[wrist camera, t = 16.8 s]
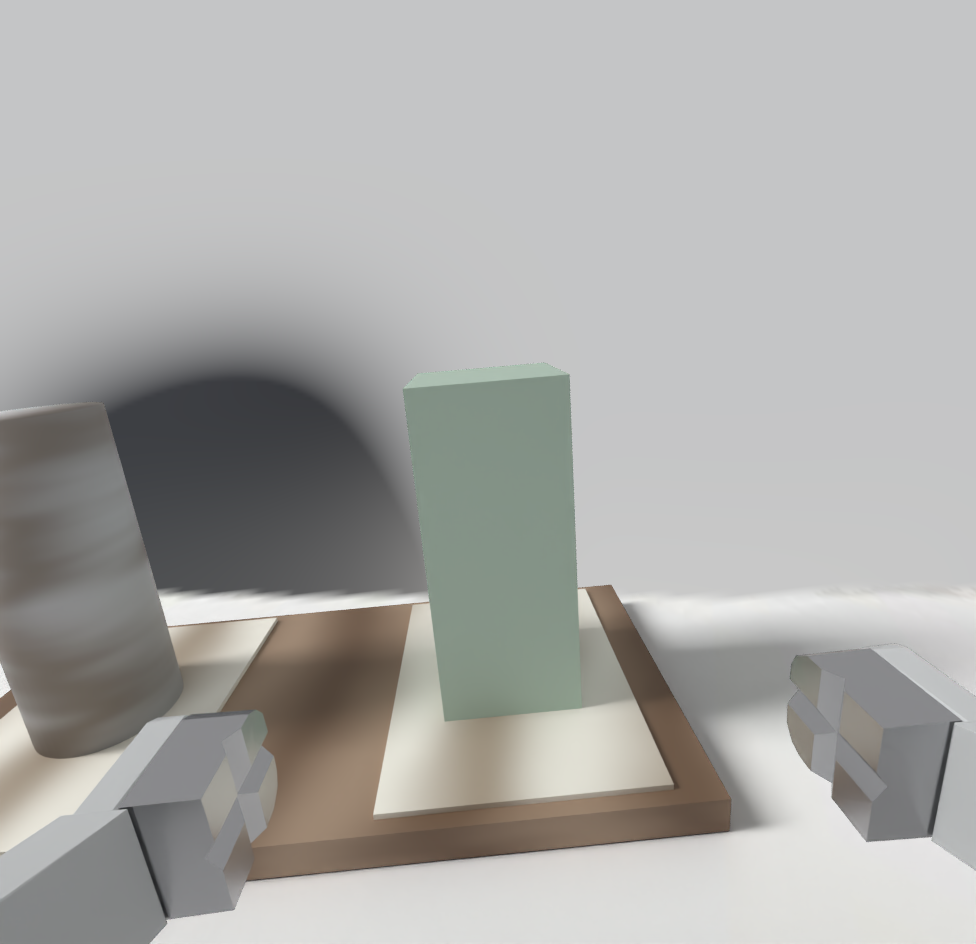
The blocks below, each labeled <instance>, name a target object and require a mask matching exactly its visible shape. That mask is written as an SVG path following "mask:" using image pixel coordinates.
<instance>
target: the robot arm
mask: <svg viewBox="0 0 976 944" xmlns="http://www.w3.org/2000/svg"><path fill="white" fill-rule="evenodd" d="M790 679H791V681H792V682H793V683H794V684H795V686H796V687H797V688H798V691H797V692H796V694H795V695H794V696H793V697H792V699H791V700H790V701H789V702H788V708H787V724H788V728H789V732H790V736H791V739H792V742H793V744H794V746H795V748H796V750H797V752H798V754H799V756H800V757H801V759H802V760H803V761H804V763H805V764H806V765H807V767H808V768H809V769H810V771H812V772H814V773H815V774H817V775H819V776H821V777H822V778H824V779H826V780H828V781H829V782H831V783H832V799H833V800H834V801H835V803H836V804H837V805H838V806H839V808H840V809H841V810H842V812H843V813H844V814H845V815H846V817H847V818H848V819H849V820H850V822H851V823H852V824H853V826H854V827H855V828H856V829H857V831H858V832H859V833H860V834H861V836H862V837H863V838H864V839H865V841H866V842H873V841H886V840H899V839H912V838H926V837H932V840H931V841H933V842H934V843H936V844H937V845H939V846H940V847H942V848H943V849H944V850H946V851H947V852H949V853H950V854H952V855H953V856H955V857H956V858H958V859H959V860H961V861H962V862H964V863H965V864H967V865H968V866H970V867H971V868H973V869H974V870H976V696H974V695H973V694H972V693H970V692H969V691H967V690H966V689H965V688H963V687H962V686H960V685H959V684H958V683H956V682H955V681H953V680H952V679H951V678H949V677H948V676H947V675H945V674H944V673H942V672H941V671H940V670H938V669H937V668H935V667H934V666H933V665H931V664H930V663H929V662H927V661H926V660H924V659H923V658H922V657H920V656H919V655H917V654H916V653H915V652H913V651H912V650H910V649H909V648H908V647H905V646H902V645H899V644H895V643H894V644H886V645H878V646H870V647H862V648H861V649H854V650H844V651H835V652H825V653H816V654H806V655H797V656H796V657H795V659H794V661H793V662H792V664H791V673H790ZM267 732H268V730H267V726H266V723H265V720H264V716H263V713H261V712H259V711H258V710H256V709H255V710H242V711H229V712H216V713H203V714H191V715H182V716H171V717H159V718H156V719H154V720H152V721H150V722H148V723H146V725H145V726H144V727H143V728H142V730H141V731H140V732H139V733H138V734H137V736H136V737H135V738H134V739H133V741H132V742H131V743H130V744H129V746H128V747H127V748H126V749H125V751H124V752H123V753H122V754H121V756H120V757H119V758H118V759H117V761H116V762H115V763H114V764H113V765H112V767H111V768H110V769H109V770H108V772H107V773H106V774H105V775H104V777H103V778H102V779H101V780H100V782H99V783H98V784H97V785H96V787H95V788H94V789H93V790H92V792H91V793H90V794H89V795H88V797H87V798H86V799H85V800H84V801H83V803H82V804H81V805H80V806H79V808H78V809H77V810H76V811H75V813H74V814H72V815H64V816H60V817H58V818H57V819H55V820H54V821H52V822H51V823H49V824H48V825H46V826H45V827H43V828H42V829H40V830H39V831H37V832H36V833H34V834H33V835H31V836H30V837H28V838H27V839H25V840H24V841H22V842H21V843H19V844H18V845H16V846H14V847H13V848H11V849H10V850H8V851H7V852H5V853H4V854H2V855H1V856H0V944H149V943H150V942H151V941H152V940H153V939H154V938H155V937H156V936H157V934H158V933H159V932H160V931H161V930H162V929H163V928H164V927H165V926H166V925H167V921H166V920H168V919H175V918H182V917H189V916H196V915H203V914H210V913H217V912H224V911H231V910H234V909H235V907H236V904H237V902H238V899H239V897H240V894H241V892H242V889H243V887H244V884H245V882H246V879H247V877H248V874H249V872H250V869H251V867H252V864H253V862H254V859H255V858H254V854H253V850H252V847H251V842H253V841H254V840H255V839H256V838H257V837H258V836H259V835H260V834H261V833H262V832H263V831H264V830H265V829H266V828H267V826H268V823H269V821H270V818H271V815H272V813H273V810H274V805H275V799H276V793H277V787H278V783H277V768H276V763H275V759H274V756H273V755H272V754H271V753H270V752H269V751H268V750H266V749H265V748H264V747H263V746H262V743H263V741H264V739H265V737H266V735H267Z"/></svg>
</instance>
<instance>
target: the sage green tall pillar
mask: <svg viewBox="0 0 976 944" xmlns="http://www.w3.org/2000/svg"><path fill="white" fill-rule="evenodd" d="M403 395H404V403H405V411H406V418H407V427H408V435H409V442H410V450H411V458H412V466H413V474H414V482H415V490H416V498H417V506H418V514H419V522H420V529H421V538H422V546H423V554H424V562H425V570H426V577H427V586H428V594H429V602H430V610H431V618H432V625H433V633H434V641H435V649H436V657H437V665H438V673H439V681H440V689H441V697H442V705H443V713H444V721H445V722H446V721H456V720H466V719H477V718H487V717H497V716H507V715H518V714H528V713H538V712H549V711H559V710H569V709H579V708H582V695H581V668H580V642H579V615H578V589H577V563H576V535H575V509H574V485H573V483H574V482H573V456H572V431H571V430H572V429H571V403H570V378H569V374H568V373H566V372H563V371H561V370H559V369H557V368H555V367H553V366H551V365H549V364H547V363H536V364H524V365H512V366H500V367H489V368H477V369H466V370H454V371H442V372H431V373H419V374H417V375H416V376H415V377H414V378H413V379H412V380H411V381H410V382H409V383H408V384H407V385H406V386H405V387H404V388H403Z"/></svg>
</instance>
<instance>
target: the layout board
mask: <svg viewBox="0 0 976 944" xmlns="http://www.w3.org/2000/svg"><path fill="white" fill-rule="evenodd" d="M577 589H578V615H579V642H580V668H581V695H582V708H579V709H569V710H559V711H549V712H538V713H528V714H518V715H507V716H497V717H487V718H477V719H466V720H456V721H446V722H445V721H444V713H443V705H442V697H441V689H440V681H439V673H438V665H437V657H436V649H435V641H434V633H433V625H432V618H431V610H430V602H423V603H412V604H401V605H391V606H380V607H369V608H359V609H348V610H338V611H327V612H316V613H306V614H295V615H284V616H274V617H263V618H252V619H242V620H231V621H221V622H210V623H199V624H189V625H178V626H167V623H166V620H165V616H164V613H163V609H162V606H161V602H160V599H159V595H158V592H157V588H156V585H155V581H154V578H153V574H152V571H151V567H150V564H149V561H148V557H147V553H146V550H145V546H144V543H143V539H142V536H141V532H140V529H139V525H138V522H137V518H136V515H135V511H134V508H133V504H132V501H131V497H130V494H129V490H128V487H127V483H126V480H125V477H124V473H123V469H122V466H121V462H120V459H119V455H118V452H117V449H116V445H115V442H114V438H113V434H112V431H111V427H110V424H109V420H108V417H107V413H106V410H105V406H104V403H102V402H84V403H71V404H59V405H50V406H40V407H32V408H23V409H15V410H7V411H0V663H1V665H2V668H3V670H4V673H5V675H6V678H7V681H8V683H9V686H10V688H11V690H10V691H9V692H8V693H6V694H5V695H4V696H3V697H1V698H0V856H1V855H2V854H4V853H5V852H7V851H8V850H10V849H11V848H13V847H14V846H16V845H18V844H19V843H21V842H22V841H24V840H25V839H27V838H28V837H30V836H31V835H33V834H34V833H36V832H37V831H39V830H40V829H42V828H43V827H45V826H46V825H48V824H49V823H51V822H52V821H54V820H55V819H57V818H58V817H60V816H64V815H72V814H74V813H75V811H76V810H77V809H78V808H79V806H80V805H81V804H82V803H83V801H84V800H85V799H86V798H87V797H88V795H89V794H90V793H91V792H92V790H93V789H94V788H95V787H96V785H97V784H98V783H99V782H100V780H101V779H102V778H103V777H104V775H105V774H106V773H107V772H108V770H109V769H110V768H111V767H112V765H113V764H114V763H115V762H116V761H117V759H118V758H119V757H120V756H121V754H122V753H123V752H124V751H125V749H126V748H127V747H128V746H129V744H130V743H131V742H132V741H133V739H134V738H135V737H136V736H137V734H138V733H139V732H140V731H141V730H142V728H143V727H144V726H145V725H146V723H148V722H150V721H152V720H154V719H156V718H159V717H171V716H182V715H191V714H203V713H216V712H229V711H242V710H255V709H256V710H258V711H259V712H261V713H263V716H264V720H265V723H266V726H267V730H268V732H267V735H266V737H265V739H264V741H263V743H262V746H263V747H264V748H265V749H266V750H268V751H269V752H270V753H271V754H272V755H273V756H274V759H275V763H276V768H277V783H278V787H277V793H276V799H275V805H274V810H273V813H272V815H271V818H270V821H269V823H268V826H267V828H266V829H265V830H264V831H263V832H262V833H261V834H260V835H259V836H258V837H257V838H256V839H255V840H254V841H253V842H251V847H252V850H253V854H254V858H255V859H254V862H253V864H252V867H251V869H250V872H249V874H248V877H247V879H246V880H256V879H265V878H275V877H285V876H294V875H304V874H314V873H324V872H333V871H343V870H353V869H362V868H372V867H382V866H392V865H401V864H411V863H421V862H430V861H440V860H450V859H460V858H469V857H479V856H489V855H498V854H508V853H518V852H528V851H537V850H547V849H557V848H567V847H576V846H586V845H596V844H605V843H615V842H625V841H635V840H644V839H654V838H664V837H673V836H683V835H693V834H703V833H712V832H722V831H729V828H730V812H731V798H730V796H729V794H728V792H727V791H726V789H725V787H724V785H723V783H722V782H721V780H720V778H719V776H718V775H717V773H716V771H715V769H714V767H713V766H712V764H711V762H710V760H709V758H708V757H707V755H706V753H705V751H704V750H703V748H702V746H701V744H700V742H699V741H698V739H697V737H696V735H695V733H694V732H693V730H692V728H691V726H690V725H689V723H688V721H687V719H686V717H685V716H684V714H683V712H682V710H681V708H680V707H679V705H678V703H677V701H676V700H675V698H674V696H673V694H672V692H671V691H670V689H669V687H668V685H667V684H666V682H665V680H664V678H663V676H662V675H661V673H660V671H659V669H658V667H657V666H656V664H655V662H654V660H653V659H652V657H651V655H650V653H649V651H648V650H647V648H646V646H645V644H644V642H643V641H642V639H641V637H640V635H639V634H638V632H637V630H636V628H635V626H634V625H633V623H632V621H631V619H630V617H629V616H628V614H627V612H626V610H625V609H624V607H623V605H622V603H621V601H620V600H619V598H618V596H617V594H616V592H615V591H614V589H613V587H612V585H604V586H593V587H584V588H583V587H582V588H577Z"/></svg>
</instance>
